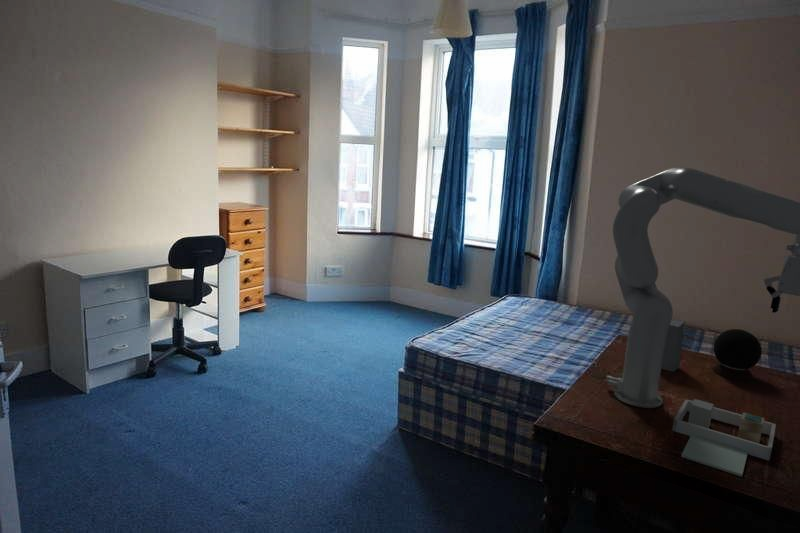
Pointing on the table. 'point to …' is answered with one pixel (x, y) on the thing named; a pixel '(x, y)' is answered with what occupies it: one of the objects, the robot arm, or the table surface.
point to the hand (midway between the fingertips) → (796, 316)
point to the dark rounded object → (736, 354)
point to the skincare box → (673, 346)
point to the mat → (715, 455)
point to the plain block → (700, 413)
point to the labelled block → (750, 427)
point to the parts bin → (723, 438)
